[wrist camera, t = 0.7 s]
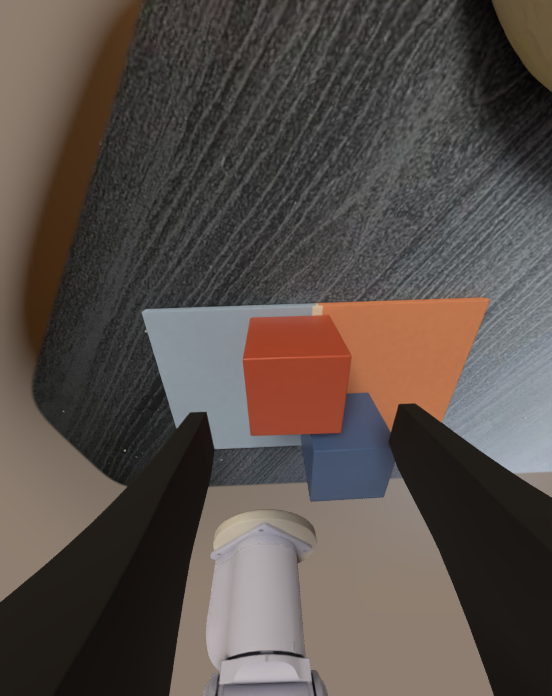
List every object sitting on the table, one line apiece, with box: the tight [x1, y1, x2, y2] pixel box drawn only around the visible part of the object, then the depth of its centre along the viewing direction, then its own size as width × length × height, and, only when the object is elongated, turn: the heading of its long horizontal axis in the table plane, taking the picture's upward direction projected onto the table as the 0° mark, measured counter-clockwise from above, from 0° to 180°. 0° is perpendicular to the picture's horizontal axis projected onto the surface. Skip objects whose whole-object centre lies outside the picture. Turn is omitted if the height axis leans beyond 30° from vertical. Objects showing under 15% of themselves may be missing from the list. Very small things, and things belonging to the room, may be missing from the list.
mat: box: [142, 297, 490, 449], centre depth 17 cm, size 19×11×1 cm, turn 91°
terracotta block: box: [243, 315, 352, 436], centre depth 13 cm, size 4×4×4 cm
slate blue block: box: [301, 393, 395, 502], centre depth 16 cm, size 4×4×4 cm
